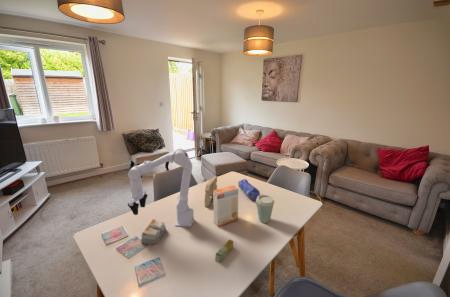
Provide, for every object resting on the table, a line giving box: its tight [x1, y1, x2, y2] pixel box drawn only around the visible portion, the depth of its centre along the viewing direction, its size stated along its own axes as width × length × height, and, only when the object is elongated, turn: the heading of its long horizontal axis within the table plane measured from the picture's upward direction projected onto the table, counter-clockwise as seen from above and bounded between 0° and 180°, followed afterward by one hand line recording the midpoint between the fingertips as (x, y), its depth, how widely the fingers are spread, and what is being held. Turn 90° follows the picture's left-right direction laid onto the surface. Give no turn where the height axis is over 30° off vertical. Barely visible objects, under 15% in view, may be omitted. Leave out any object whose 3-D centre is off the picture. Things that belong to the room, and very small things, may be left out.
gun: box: [204, 175, 218, 208], centre depth 146 cm, size 24×3×15 cm, turn 168°
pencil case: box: [237, 178, 261, 201], centre depth 154 cm, size 22×9×10 cm, turn 19°
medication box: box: [215, 239, 234, 263], centre depth 96 cm, size 12×3×4 cm, turn 147°
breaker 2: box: [143, 225, 158, 235], centre depth 104 cm, size 6×3×2 cm, turn 84°
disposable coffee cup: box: [255, 193, 275, 224], centre depth 120 cm, size 11×11×15 cm
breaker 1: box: [148, 218, 162, 228], centre depth 110 cm, size 6×3×2 cm, turn 84°
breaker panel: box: [140, 221, 166, 245], centre depth 107 cm, size 8×12×5 cm, turn 174°
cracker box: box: [212, 185, 239, 227], centre depth 119 cm, size 14×6×21 cm, turn 119°
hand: (139, 210), depth 113 cm, fingers open, 7 cm apart
